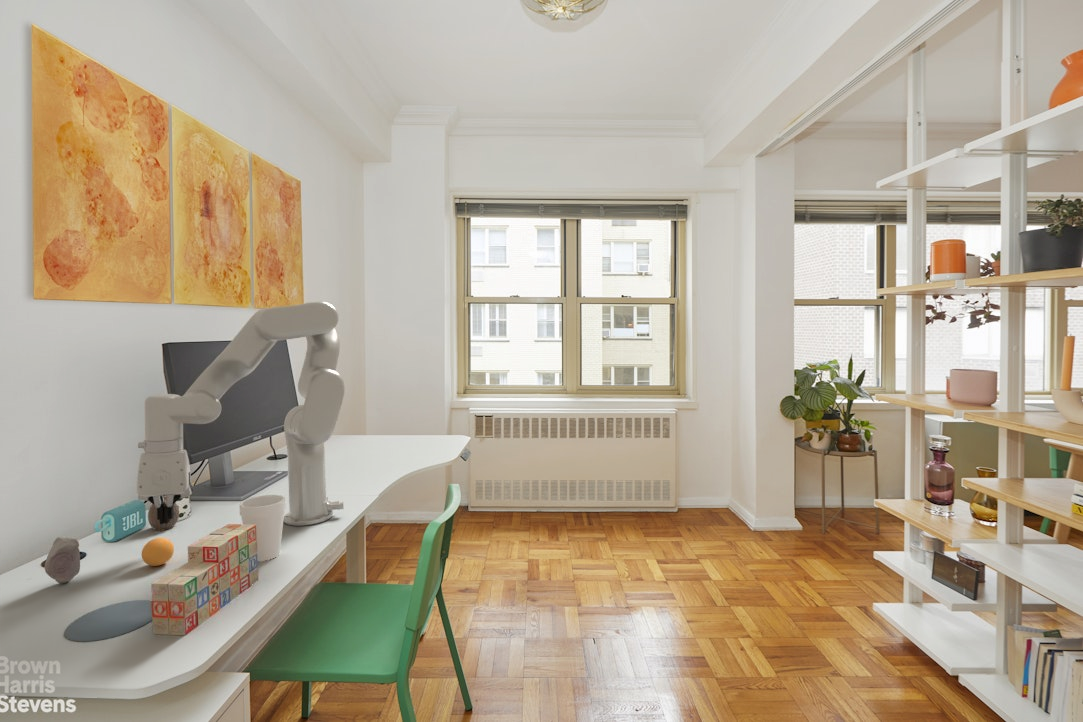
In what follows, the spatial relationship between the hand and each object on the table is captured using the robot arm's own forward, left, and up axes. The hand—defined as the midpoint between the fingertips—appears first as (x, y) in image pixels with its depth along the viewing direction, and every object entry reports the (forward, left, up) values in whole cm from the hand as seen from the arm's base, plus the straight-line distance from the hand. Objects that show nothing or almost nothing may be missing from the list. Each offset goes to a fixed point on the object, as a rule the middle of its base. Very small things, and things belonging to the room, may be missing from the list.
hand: (165, 522), depth 133 cm
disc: (-1, +34, -7) cm, 35 cm away
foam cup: (-23, +12, -7) cm, 27 cm away
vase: (+5, -18, -7) cm, 20 cm away
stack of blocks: (-16, +34, -7) cm, 38 cm away
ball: (-1, +9, -4) cm, 10 cm away
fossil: (+15, +13, -7) cm, 21 cm away
